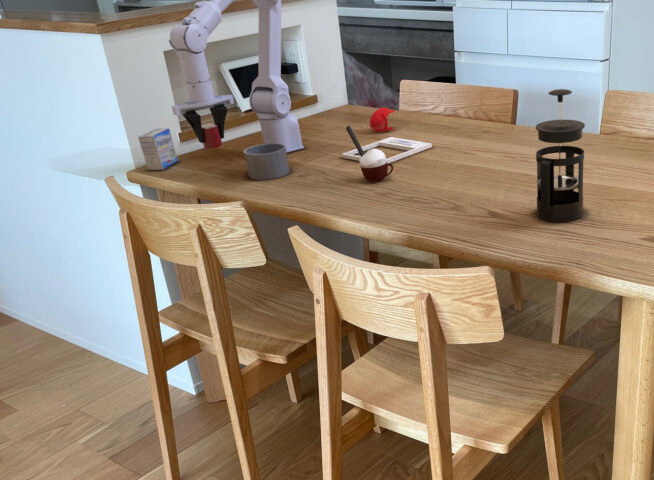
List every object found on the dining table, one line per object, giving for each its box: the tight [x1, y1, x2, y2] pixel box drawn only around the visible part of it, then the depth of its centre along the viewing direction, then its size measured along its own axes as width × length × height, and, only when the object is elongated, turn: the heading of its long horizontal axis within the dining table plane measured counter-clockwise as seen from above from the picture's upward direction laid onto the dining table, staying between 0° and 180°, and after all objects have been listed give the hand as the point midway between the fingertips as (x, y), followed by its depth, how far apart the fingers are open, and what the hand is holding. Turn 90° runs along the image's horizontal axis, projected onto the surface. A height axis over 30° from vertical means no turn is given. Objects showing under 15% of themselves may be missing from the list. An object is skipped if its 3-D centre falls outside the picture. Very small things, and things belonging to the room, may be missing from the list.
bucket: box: [243, 143, 291, 181], centre depth 182 cm, size 10×10×6 cm
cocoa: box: [345, 125, 394, 182], centre depth 171 cm, size 10×6×12 cm, turn 50°
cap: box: [369, 107, 395, 133], centre depth 212 cm, size 8×6×6 cm
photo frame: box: [341, 136, 433, 164], centre depth 193 cm, size 15×1×18 cm
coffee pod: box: [201, 122, 223, 149], centre depth 183 cm, size 4×4×5 cm
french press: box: [535, 88, 586, 223], centre depth 141 cm, size 12×9×23 cm
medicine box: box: [137, 127, 179, 171], centre depth 194 cm, size 8×4×9 cm, turn 168°
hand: (211, 140), depth 184 cm, fingers closed on coffee pod, 4 cm apart
